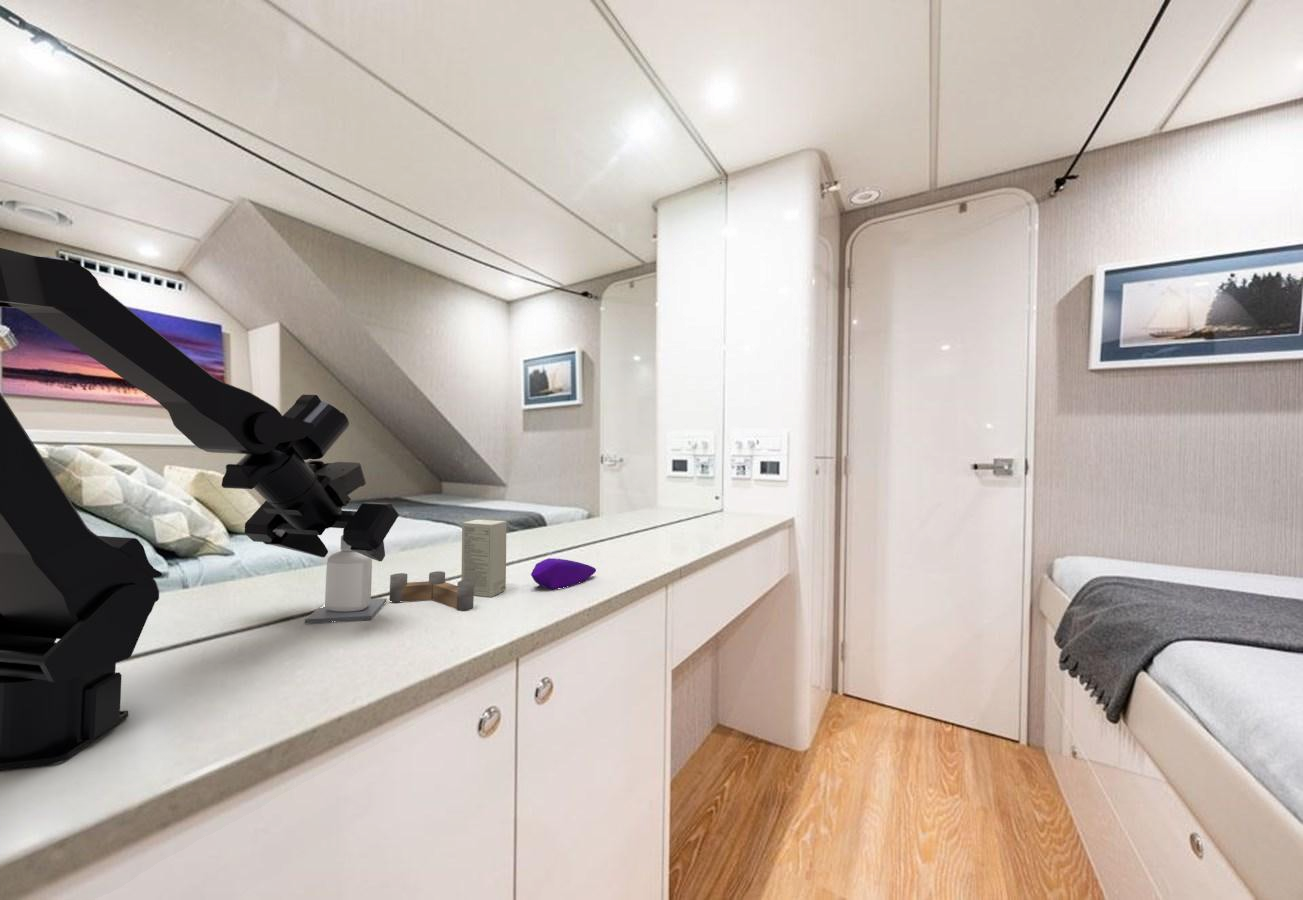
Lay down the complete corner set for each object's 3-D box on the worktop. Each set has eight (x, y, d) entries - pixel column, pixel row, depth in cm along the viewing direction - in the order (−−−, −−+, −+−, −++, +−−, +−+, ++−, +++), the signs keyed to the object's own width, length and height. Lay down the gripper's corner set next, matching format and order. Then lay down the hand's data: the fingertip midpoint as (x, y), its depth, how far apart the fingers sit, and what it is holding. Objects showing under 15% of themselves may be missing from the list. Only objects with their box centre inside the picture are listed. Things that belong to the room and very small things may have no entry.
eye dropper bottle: (343, 616, 65) (347, 529, 65) (320, 609, 67) (324, 525, 67) (374, 607, 69) (378, 526, 69) (351, 601, 71) (354, 522, 71)
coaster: (304, 623, 63) (304, 619, 63) (327, 604, 71) (327, 600, 71) (370, 620, 65) (371, 615, 65) (386, 602, 73) (386, 598, 73)
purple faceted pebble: (605, 559, 91) (541, 563, 80) (602, 585, 91) (537, 592, 79) (588, 555, 94) (525, 558, 83) (585, 580, 94) (521, 586, 82)
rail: (377, 615, 67) (378, 587, 67) (392, 597, 75) (393, 572, 75) (472, 610, 71) (473, 583, 71) (477, 593, 79) (478, 570, 79)
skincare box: (506, 590, 81) (509, 520, 81) (490, 598, 77) (493, 524, 77) (475, 586, 83) (477, 518, 83) (458, 593, 78) (461, 521, 79)
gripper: (392, 444, 63) (437, 516, 73) (268, 439, 65) (329, 510, 76) (344, 509, 55) (402, 579, 65) (205, 501, 57) (283, 570, 68)
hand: (353, 556), depth 69 cm, fingers open, 9 cm apart
